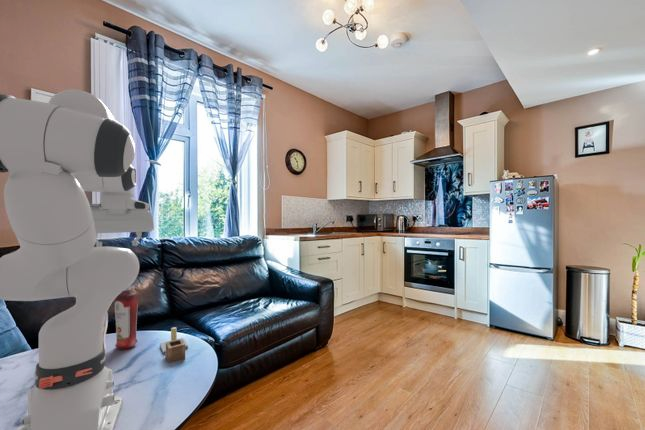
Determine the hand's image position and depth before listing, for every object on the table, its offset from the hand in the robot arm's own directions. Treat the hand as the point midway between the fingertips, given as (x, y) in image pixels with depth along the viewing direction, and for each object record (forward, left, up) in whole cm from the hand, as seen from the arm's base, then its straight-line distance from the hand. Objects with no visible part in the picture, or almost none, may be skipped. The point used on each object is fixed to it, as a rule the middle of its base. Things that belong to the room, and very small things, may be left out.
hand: (117, 246), depth 93 cm
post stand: (+3, -17, -39) cm, 42 cm away
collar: (-6, -16, -39) cm, 42 cm away
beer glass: (+16, +6, -39) cm, 43 cm away
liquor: (+14, -3, -39) cm, 41 cm away
